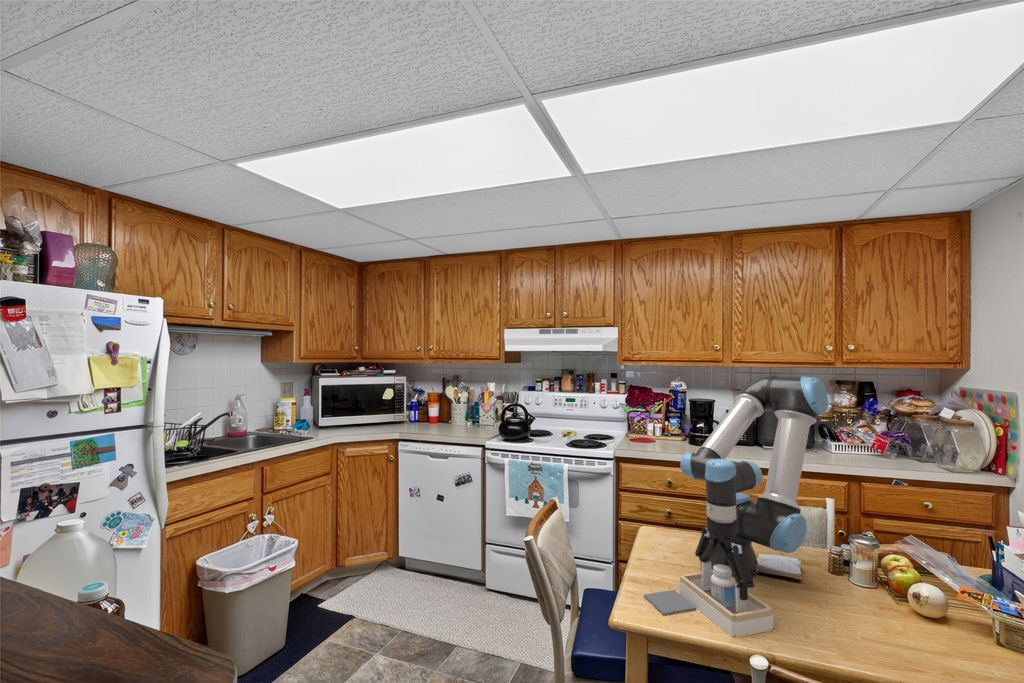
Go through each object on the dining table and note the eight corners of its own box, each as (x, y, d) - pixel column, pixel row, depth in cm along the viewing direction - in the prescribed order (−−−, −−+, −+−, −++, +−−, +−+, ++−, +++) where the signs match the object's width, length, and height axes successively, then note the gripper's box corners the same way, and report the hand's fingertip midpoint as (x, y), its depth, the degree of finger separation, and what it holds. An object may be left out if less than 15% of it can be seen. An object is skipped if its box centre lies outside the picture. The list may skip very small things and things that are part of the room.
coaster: (674, 591, 137) (674, 589, 137) (696, 609, 127) (696, 607, 127) (643, 596, 134) (643, 594, 134) (663, 615, 125) (663, 613, 125)
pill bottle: (734, 606, 129) (733, 564, 129) (737, 618, 123) (736, 574, 123) (710, 602, 131) (709, 561, 131) (712, 614, 125) (711, 571, 125)
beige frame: (715, 586, 139) (715, 569, 139) (775, 629, 118) (774, 609, 118) (678, 592, 136) (678, 575, 136) (733, 638, 115) (732, 617, 115)
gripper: (681, 505, 139) (683, 578, 138) (743, 537, 114) (745, 625, 114) (703, 502, 140) (705, 574, 140) (768, 533, 116) (770, 620, 116)
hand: (723, 597), depth 127 cm, fingers open, 13 cm apart
